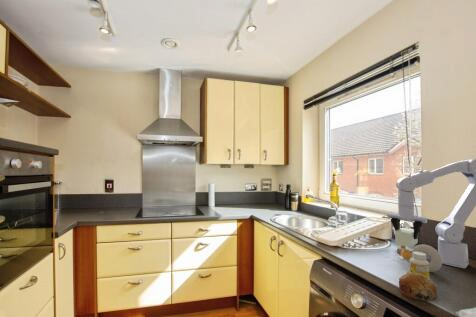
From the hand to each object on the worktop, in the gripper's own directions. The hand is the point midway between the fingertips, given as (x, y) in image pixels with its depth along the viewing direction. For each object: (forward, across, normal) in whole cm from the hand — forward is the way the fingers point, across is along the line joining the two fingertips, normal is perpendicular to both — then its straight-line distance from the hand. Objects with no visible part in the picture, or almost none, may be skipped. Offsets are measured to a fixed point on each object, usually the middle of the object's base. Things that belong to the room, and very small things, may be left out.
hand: (406, 237), depth 112 cm
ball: (+7, 0, 0) cm, 7 cm away
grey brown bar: (+9, 0, +6) cm, 11 cm away
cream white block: (+2, 0, 0) cm, 3 cm away
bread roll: (+10, +12, -33) cm, 36 cm away
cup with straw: (+9, -5, +12) cm, 16 cm away
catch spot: (+9, 0, 0) cm, 9 cm away
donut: (+9, +9, -10) cm, 16 cm away
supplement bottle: (+10, +10, -22) cm, 26 cm away
